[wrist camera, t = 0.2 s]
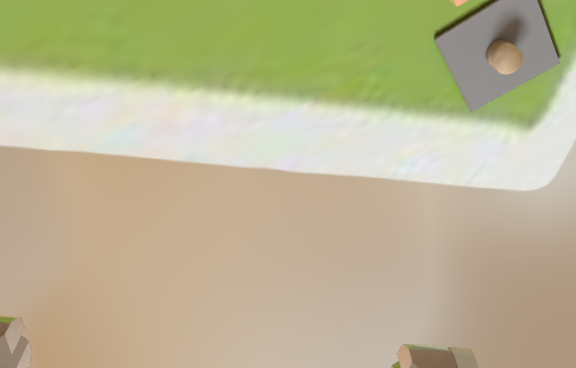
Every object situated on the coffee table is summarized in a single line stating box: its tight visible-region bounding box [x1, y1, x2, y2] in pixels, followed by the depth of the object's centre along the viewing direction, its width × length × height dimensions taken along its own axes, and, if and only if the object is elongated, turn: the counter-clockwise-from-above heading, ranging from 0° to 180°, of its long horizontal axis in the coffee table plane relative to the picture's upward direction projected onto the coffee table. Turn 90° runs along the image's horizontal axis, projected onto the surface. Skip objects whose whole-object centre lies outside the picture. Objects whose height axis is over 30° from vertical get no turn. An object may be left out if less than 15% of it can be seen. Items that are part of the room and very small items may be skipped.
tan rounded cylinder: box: [485, 39, 523, 74], centre depth 55 cm, size 3×3×3 cm
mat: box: [434, 0, 560, 112], centre depth 56 cm, size 11×11×1 cm
